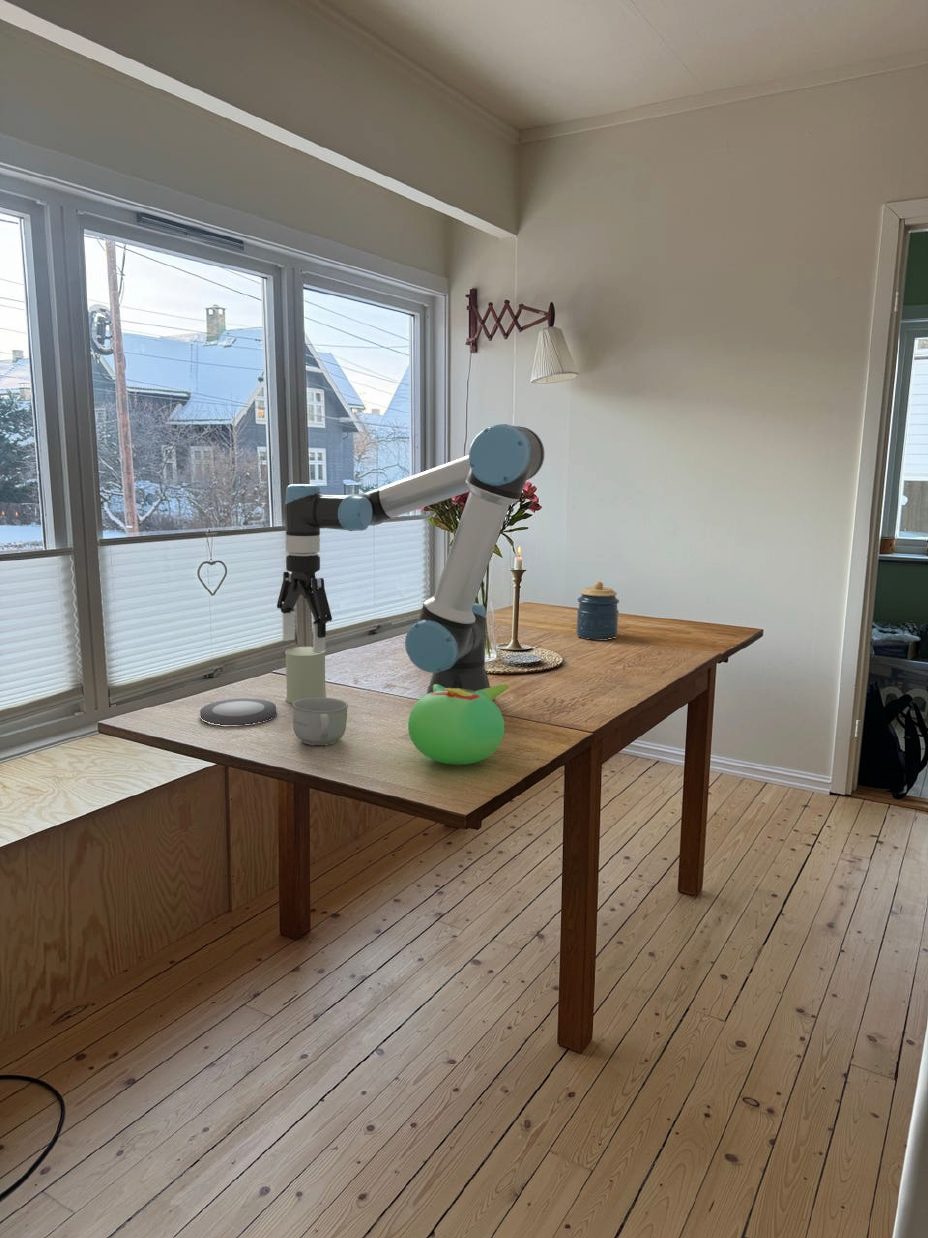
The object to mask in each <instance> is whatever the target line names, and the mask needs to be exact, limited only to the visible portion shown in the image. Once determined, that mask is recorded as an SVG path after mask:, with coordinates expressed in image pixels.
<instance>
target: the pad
mask: <svg viewBox="0 0 928 1238" xmlns="http://www.w3.org/2000/svg"><path fill="white" fill-rule="evenodd" d="M199 714H200V716H201V718H202V719H203V720H205V721H207V722H210V723H214V724H220V725H245V724H253V723H258V722H263V721H266V720H269V719H271V718H273V717H274V718H275V717H276V716H277V706H276V704H275V703H274V702H271V701H269V700H266V699H259V698H231V699H224V700H223V699H222V700H220V701H215V702H211V703H209V704H207V705H204V706H203V707H202V708H200V711H199ZM275 715H276V716H275ZM201 718H200V719H201ZM274 718H273V719H274ZM271 720H272V719H271ZM269 721H270V720H269ZM266 722H267V721H266ZM263 723H264V722H263Z"/></svg>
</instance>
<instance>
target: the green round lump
mask: <svg viewBox="0 0 928 1238" xmlns="http://www.w3.org/2000/svg"><path fill="white" fill-rule="evenodd" d="M509 687H510V686H509V685H508V684H498V685H494V686H490V687H489V688H486V689H482V690H478V691H473V690H469V689H459V688H444V687H443V686H441V685H438V684H434V685H433V692H431V693H429V694H427V693H426V694H425V695H424V696H422V697H421V698H420V699H419V700H418V701H416V703H415V704H414V706H413V707H412V709H411V711H410V714H409V718H408V722H407V723H408V725H407V726H408V727H407V728H408V730H407V731H408V734H409V738H410V741H411V742H412V744H413V745H414V747H415V748H416V749H417V750H418V752H420V753H421V754H423V755H424V756H425V757H427V758H428V759H431V760H433V761H435V762H439V763H442V764H446V765H454V766H455V765H457V766H462V765H471V764H475V763H479V762H481V761H484V760H486V759H488V758H489V757H491V756H492V755H493V754H494V753H495V752H496V751H497V750H498V748H499V747H500V745H501V743H502V742H503V741H502V740H503V737H504V736H505V721H504V717H503V715H502V714H503V713H502V712H501V710H500V708H499V706H498V705H497V704H496V703H495V702H494V701H493V700H494V699H495V698H497V697H499V696H500V695H501V694H503V693H504V692H506V691H507V690H508V689H509Z"/></svg>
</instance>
